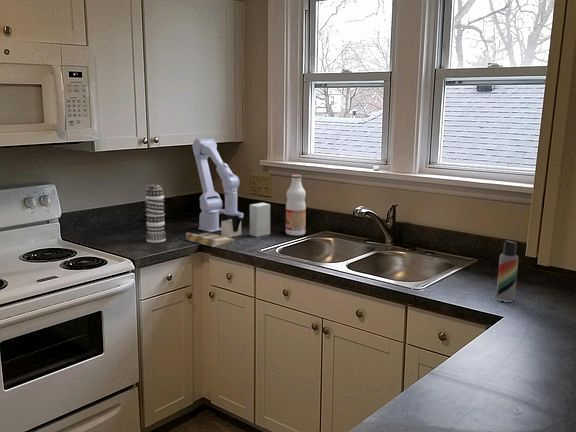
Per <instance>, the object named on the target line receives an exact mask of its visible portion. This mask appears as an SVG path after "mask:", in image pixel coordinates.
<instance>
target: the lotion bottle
mask: <svg viewBox="0 0 576 432" xmlns="http://www.w3.org/2000/svg"><path fill="white" fill-rule="evenodd" d="M517 245H518V244H517V242H515V241H513V240H505V241H504V242H503V251H502V253H500V255H499V259H498V261H499V262H498V273H497V282H496V294H495V295H496V296H495V298H496V297H497V298H498V299H501V300H506V301H512V300H514V301H515V298H516V289H517V279H518V277H517V276H518V266H519V255H518V254H517ZM516 254H517V255H516Z"/></svg>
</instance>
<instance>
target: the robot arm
mask: <svg viewBox="0 0 576 432" xmlns="http://www.w3.org/2000/svg"><path fill="white" fill-rule="evenodd" d="M217 146H218V144H217V142H216V140H215V139H214V138H212V137H211V138H210V137H209V138H195V139H194V140H193V143H192V145H191V147H192V151H193V155H194V158H195V163H196V167H197V171H198V176H199V180H200V184H201V188H202V194H201V195H200V197H199V208H200V210H201V212H200V213H199V215H198V216H199V217H198V218H199V220H198V221H199V225H198V226H199V227H198V228H197V229H198V230H201V231H203V232H204V231H205V232H207V233H208V232H209V233H212V232H218V231H221V227H220V219H221V221H225V220H230V219H231V220H232V223H233V232H238V228H239V224H240V222H241V223H242V220H243V218H244V215H245V214H244V212H240V211H238V188H239V187H240V185H241V181H240V178H239V176H238V175H235V174H234V173H233V172H232V170H231V169H230V167H229V164H227V163H226V162H224V161H223V160H222V157H221V156H220V155H221V154H220V153H219V152H218V150H217V149H218V148H217ZM208 158H210V159H211V160H212V162H213V164H214V165H215V166H216V172H217V174H218V176H219V177H220V179H221V184H222V188H223V192H224V209H223V200H222V199H221V196H220V194H219V193H218V192H217V191H215V189H214V185H213V179H212V175H211V171H210V167H209V162H208Z"/></svg>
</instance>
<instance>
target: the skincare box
mask: <svg viewBox="0 0 576 432" xmlns="http://www.w3.org/2000/svg"><path fill="white" fill-rule="evenodd" d="M269 235H271V204H270V203H266V202H258V203H252V204H249V236H253V237H255V238H258V237H260V238H261V237H263V236H269Z"/></svg>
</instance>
